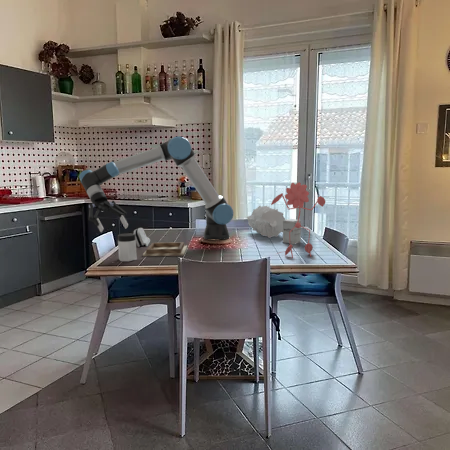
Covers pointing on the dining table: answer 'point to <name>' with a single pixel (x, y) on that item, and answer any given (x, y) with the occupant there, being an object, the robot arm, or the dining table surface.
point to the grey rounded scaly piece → (266, 221)
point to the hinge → (141, 237)
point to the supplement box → (294, 234)
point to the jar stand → (166, 249)
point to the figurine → (297, 198)
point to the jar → (127, 247)
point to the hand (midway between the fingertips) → (114, 228)
